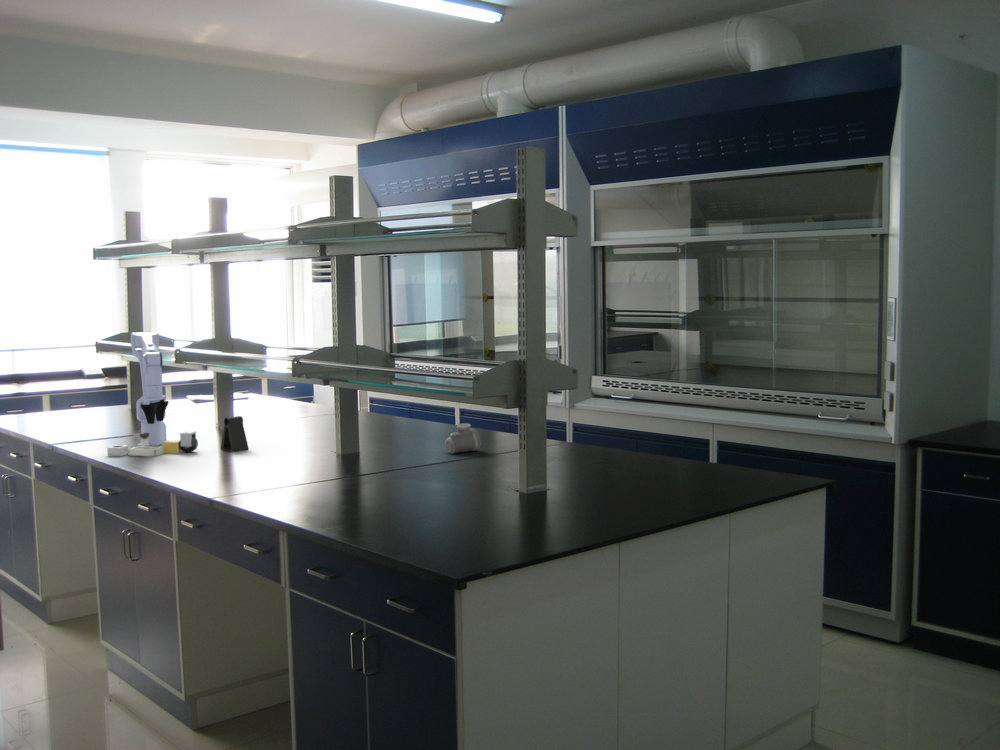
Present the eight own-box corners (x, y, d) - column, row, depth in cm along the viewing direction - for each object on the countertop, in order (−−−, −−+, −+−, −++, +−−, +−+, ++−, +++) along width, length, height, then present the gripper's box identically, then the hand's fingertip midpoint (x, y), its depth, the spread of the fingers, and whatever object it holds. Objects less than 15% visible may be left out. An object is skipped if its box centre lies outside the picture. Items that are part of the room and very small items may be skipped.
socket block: (115, 453, 323) (115, 445, 322) (128, 453, 322) (128, 445, 322) (107, 455, 318) (107, 447, 318) (121, 456, 317) (120, 447, 317)
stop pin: (143, 452, 321) (142, 432, 321) (151, 452, 321) (150, 432, 320) (138, 453, 318) (137, 434, 318) (147, 453, 318) (146, 434, 317)
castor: (183, 450, 327) (182, 431, 326) (199, 451, 326) (198, 431, 325) (178, 453, 322) (177, 433, 322) (193, 453, 322) (193, 433, 321)
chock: (167, 451, 327) (166, 440, 327) (183, 451, 327) (182, 440, 326) (162, 453, 323) (161, 442, 323) (178, 453, 323) (177, 442, 322)
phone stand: (220, 449, 330) (219, 416, 329) (234, 447, 334) (233, 415, 333) (234, 452, 324) (233, 419, 323) (248, 449, 328) (247, 417, 327)
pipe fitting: (469, 447, 328) (467, 420, 325) (482, 452, 321) (480, 424, 319) (442, 454, 321) (440, 427, 318) (454, 459, 314) (452, 431, 312)
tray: (137, 452, 323) (137, 446, 323) (163, 453, 322) (163, 446, 322) (128, 455, 317) (128, 449, 317) (155, 456, 316) (155, 449, 316)
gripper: (151, 383, 333) (153, 419, 334) (133, 387, 319) (135, 425, 320) (170, 383, 333) (172, 419, 334) (153, 386, 318) (155, 424, 320)
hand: (155, 422), depth 327 cm, fingers open, 7 cm apart
